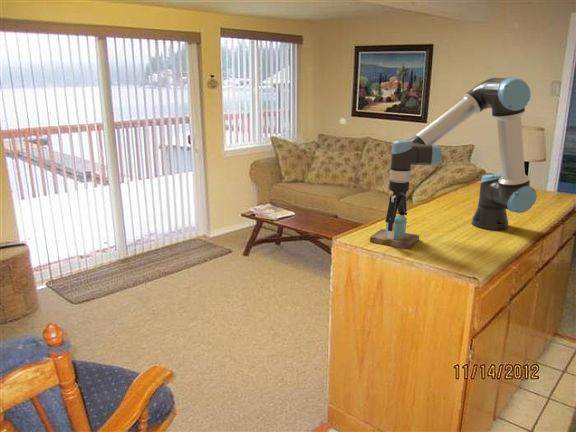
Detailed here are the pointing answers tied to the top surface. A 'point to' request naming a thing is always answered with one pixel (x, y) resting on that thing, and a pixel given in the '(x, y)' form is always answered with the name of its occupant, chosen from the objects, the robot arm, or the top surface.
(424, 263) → the top surface
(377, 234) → the stud base
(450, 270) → the top surface
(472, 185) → the top surface
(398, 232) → the cap
